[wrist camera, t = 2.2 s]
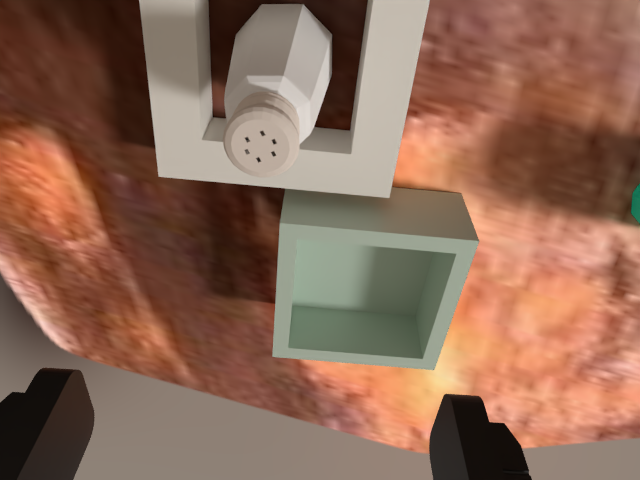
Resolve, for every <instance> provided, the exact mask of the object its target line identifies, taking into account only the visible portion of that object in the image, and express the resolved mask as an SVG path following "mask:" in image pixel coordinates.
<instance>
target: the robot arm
mask: <svg viewBox="0 0 640 480" xmlns="http://www.w3.org/2000/svg"><path fill="white" fill-rule="evenodd" d="M93 426H94V410H93V406H92V403H91V400H90V396H89V393H88V390H87V387H86V384H85V381H84V378H83V375H82V372H81V371H80V370H73V369H56V368H42V369H40V370H39V371H38V373H37V374H36V375H35V377H34V378H33V380H32V382H31V383H30V385H29V387H28V389H27V390H26V392H25V393H19V392H12V393H11V394H10V395H8V396H7V397H6V398H5V399H4V400H3V401H2V402H0V480H73V479H74V476H75V474H76V471H77V469H78V467H79V464H80V462H81V459H82V457H83V455H84V452H85V450H86V448H87V445H88V443H89V440H90V438H91V434H92V431H93ZM429 451H430V461H431V468H432V473H433V480H532V479H531V476H529V469H528V466H527V463H526V460H525V457H524V454H523V451H522V448H521V445H520V444H519V443H518V441H517V440H516V438H515V437H514V436H513V434H512V433H511V432H510V430H509V429H508V428H507V426H506V425H505V424H504V423H492V422H489V420H488V416H487V413H486V409H485V406H484V403H483V400H482V399H481V398H480V397H479V396H471V395H455V394H445V395H444V397H443V399H442V402H441V405H440V408H439V410H438V413H437V416H436V419H435V422H434V425H433V428H432V431H431V435H430V445H429Z"/></svg>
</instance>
